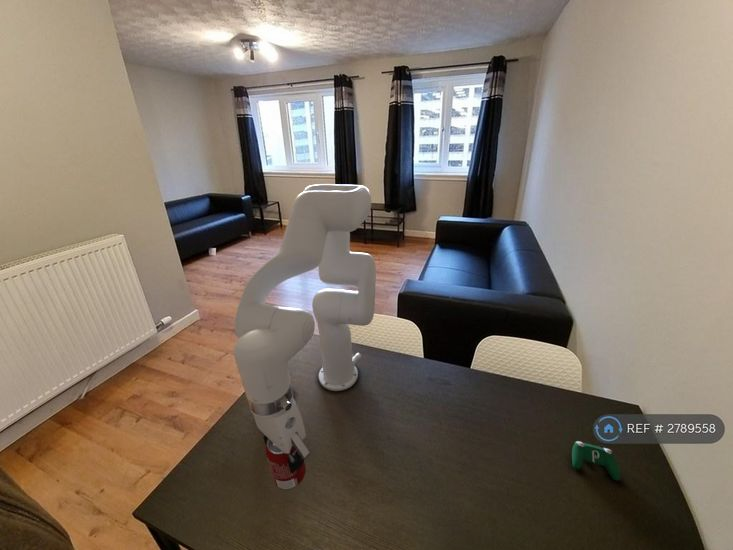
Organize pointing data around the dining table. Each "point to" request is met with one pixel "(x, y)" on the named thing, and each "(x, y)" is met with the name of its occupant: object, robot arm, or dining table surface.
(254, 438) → the dining table surface
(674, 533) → the dining table surface
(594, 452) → the gaming controller
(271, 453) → the soda can
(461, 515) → the dining table surface
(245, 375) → the robot arm
